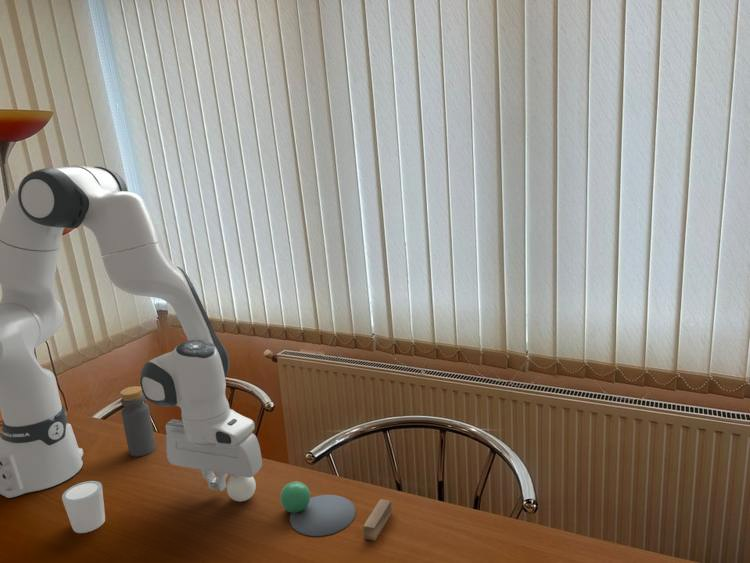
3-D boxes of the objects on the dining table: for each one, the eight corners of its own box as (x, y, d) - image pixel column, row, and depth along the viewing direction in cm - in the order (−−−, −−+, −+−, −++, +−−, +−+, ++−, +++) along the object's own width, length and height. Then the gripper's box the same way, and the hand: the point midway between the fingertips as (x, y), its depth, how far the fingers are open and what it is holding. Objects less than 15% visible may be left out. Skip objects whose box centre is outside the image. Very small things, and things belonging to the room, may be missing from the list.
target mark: (277, 529, 108) (277, 528, 108) (309, 491, 119) (309, 490, 119) (338, 541, 104) (338, 540, 104) (365, 501, 115) (365, 500, 114)
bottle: (145, 457, 137) (133, 396, 133) (123, 455, 139) (111, 395, 135) (161, 444, 142) (150, 385, 139) (140, 442, 144) (129, 384, 141)
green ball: (285, 486, 109) (306, 509, 109) (300, 470, 114) (320, 492, 114) (269, 501, 112) (289, 524, 111) (284, 485, 117) (304, 506, 116)
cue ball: (239, 478, 114) (250, 504, 114) (254, 464, 119) (265, 489, 119) (216, 483, 116) (227, 509, 116) (232, 469, 121) (242, 493, 122)
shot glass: (93, 536, 111) (86, 502, 109) (60, 534, 112) (53, 500, 110) (116, 513, 117) (109, 481, 115) (85, 511, 119) (78, 479, 117)
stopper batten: (364, 538, 104) (363, 525, 103) (381, 511, 111) (380, 499, 111) (375, 540, 103) (374, 528, 103) (391, 512, 110) (390, 500, 110)
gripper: (153, 425, 118) (165, 489, 121) (242, 438, 110) (252, 505, 113) (175, 411, 123) (185, 472, 127) (261, 422, 115) (270, 486, 119)
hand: (217, 488), depth 120 cm, fingers closed
